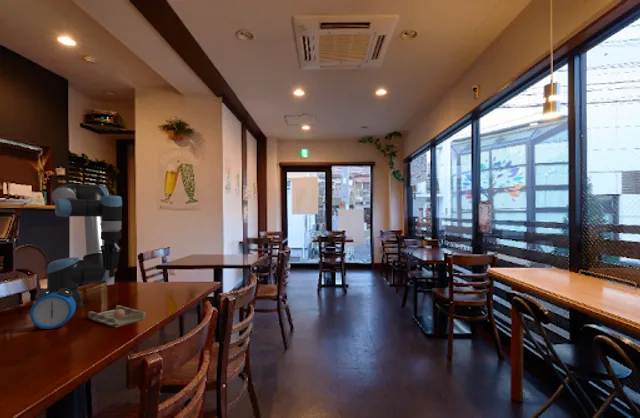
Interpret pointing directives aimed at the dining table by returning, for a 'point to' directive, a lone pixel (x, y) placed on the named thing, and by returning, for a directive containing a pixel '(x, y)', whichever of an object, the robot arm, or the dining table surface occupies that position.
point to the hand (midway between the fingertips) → (109, 284)
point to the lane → (116, 322)
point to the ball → (119, 313)
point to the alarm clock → (52, 308)
